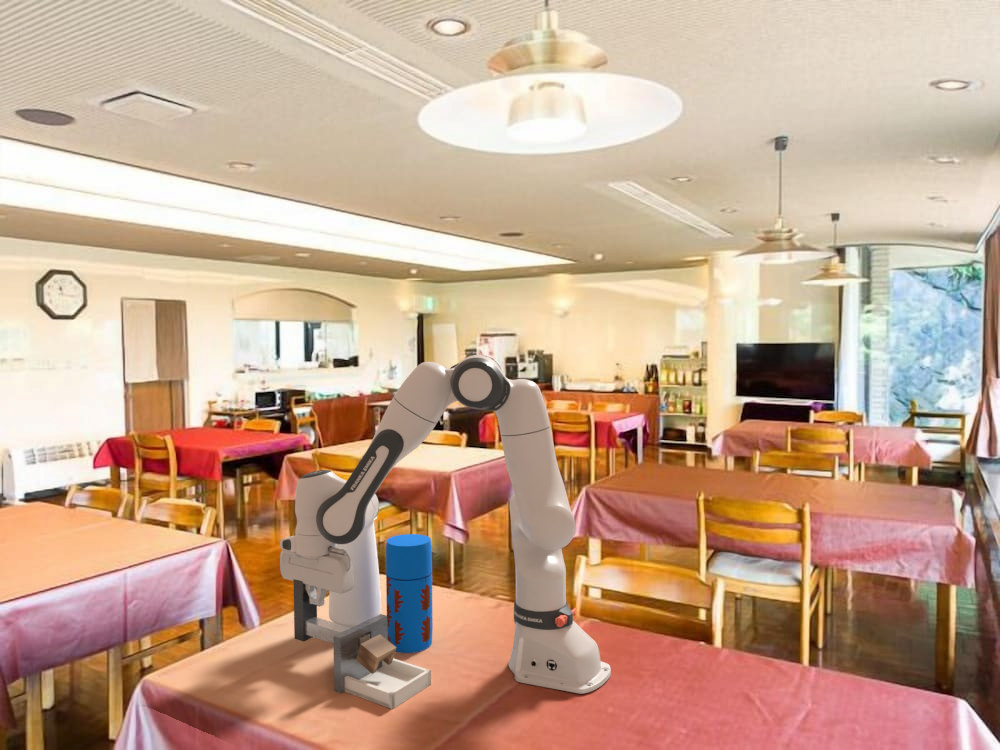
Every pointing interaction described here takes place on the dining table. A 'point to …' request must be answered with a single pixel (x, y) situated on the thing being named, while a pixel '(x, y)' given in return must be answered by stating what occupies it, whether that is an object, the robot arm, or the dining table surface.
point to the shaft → (314, 619)
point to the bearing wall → (354, 650)
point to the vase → (359, 583)
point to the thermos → (409, 592)
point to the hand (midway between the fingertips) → (316, 604)
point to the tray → (390, 683)
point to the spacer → (375, 653)
